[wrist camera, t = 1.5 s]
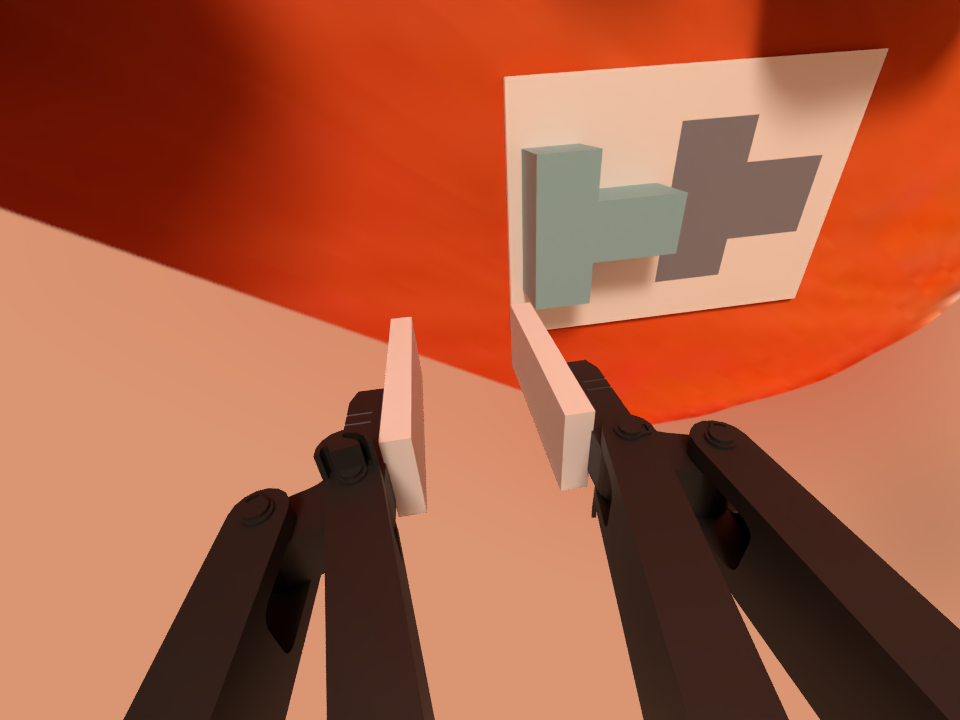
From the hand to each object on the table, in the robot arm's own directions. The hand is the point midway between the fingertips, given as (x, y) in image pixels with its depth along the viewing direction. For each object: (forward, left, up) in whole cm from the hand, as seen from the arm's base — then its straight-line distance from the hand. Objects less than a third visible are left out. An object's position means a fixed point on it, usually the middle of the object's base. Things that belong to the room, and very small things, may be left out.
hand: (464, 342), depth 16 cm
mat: (0, +18, -17) cm, 24 cm away
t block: (0, +11, -16) cm, 20 cm away
